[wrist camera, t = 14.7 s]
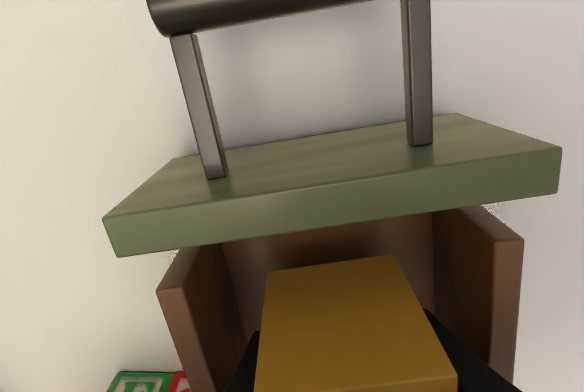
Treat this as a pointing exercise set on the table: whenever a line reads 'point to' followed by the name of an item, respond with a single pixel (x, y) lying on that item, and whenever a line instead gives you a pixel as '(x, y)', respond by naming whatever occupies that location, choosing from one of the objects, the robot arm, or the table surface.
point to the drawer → (331, 204)
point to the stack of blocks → (149, 382)
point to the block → (348, 332)
